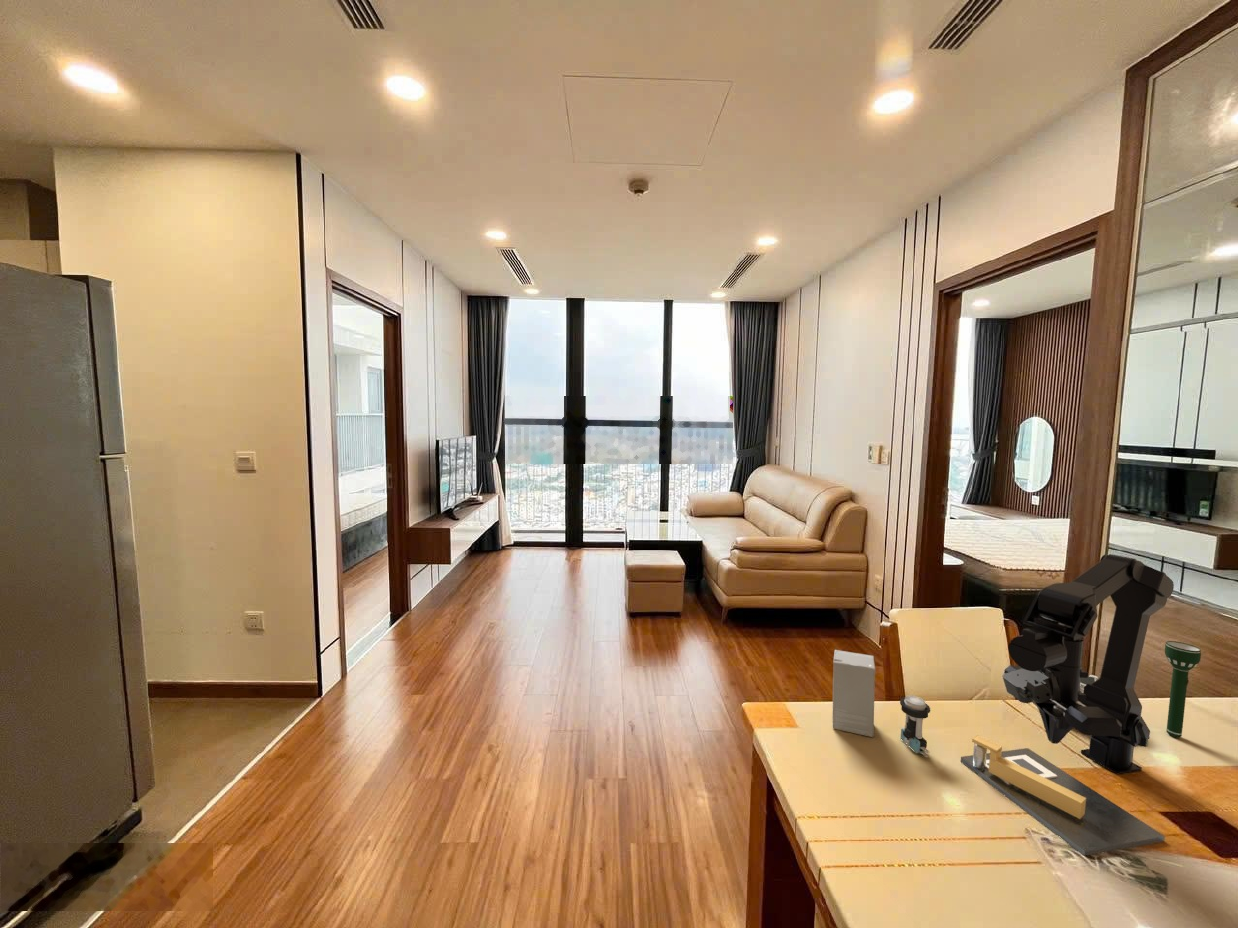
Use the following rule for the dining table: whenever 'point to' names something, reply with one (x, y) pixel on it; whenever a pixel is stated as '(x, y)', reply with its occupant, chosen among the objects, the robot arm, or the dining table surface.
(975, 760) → the pivot post
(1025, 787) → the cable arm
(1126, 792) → the dining table surface
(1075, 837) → the chassis plate
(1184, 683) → the flashlight
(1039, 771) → the label tile
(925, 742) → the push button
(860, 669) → the skincare box
